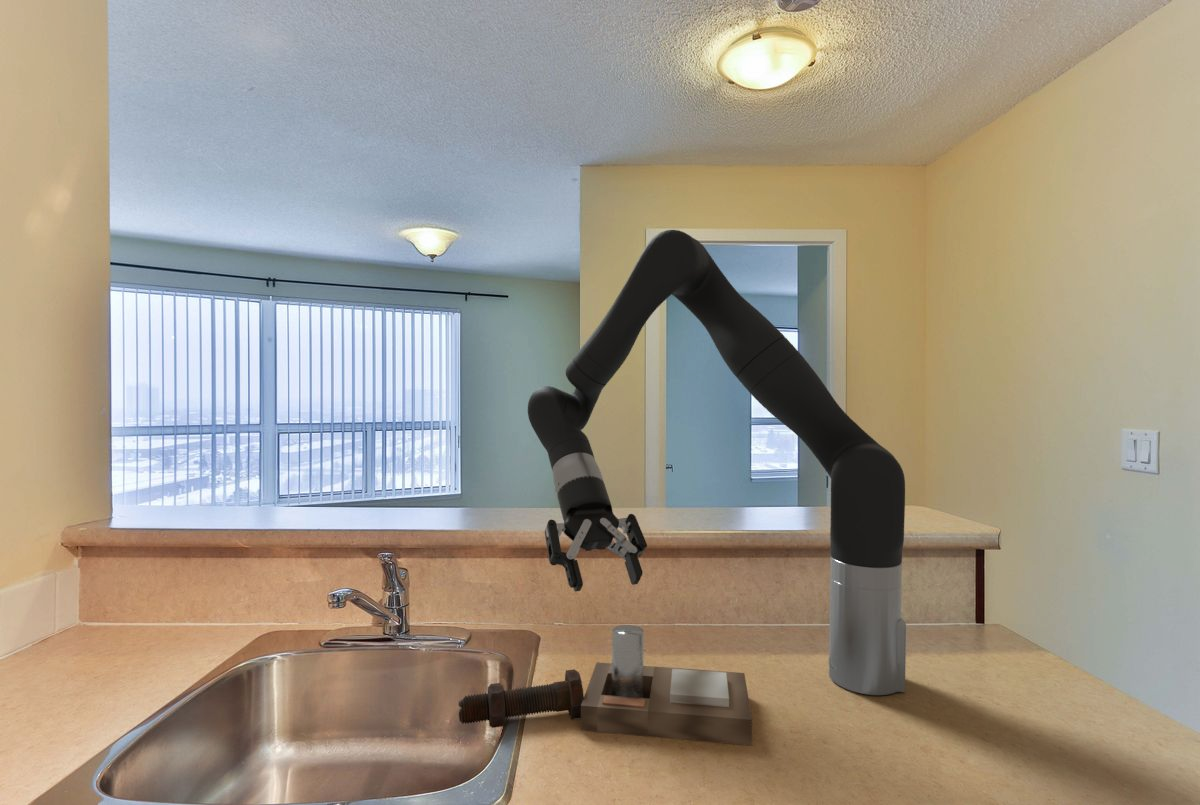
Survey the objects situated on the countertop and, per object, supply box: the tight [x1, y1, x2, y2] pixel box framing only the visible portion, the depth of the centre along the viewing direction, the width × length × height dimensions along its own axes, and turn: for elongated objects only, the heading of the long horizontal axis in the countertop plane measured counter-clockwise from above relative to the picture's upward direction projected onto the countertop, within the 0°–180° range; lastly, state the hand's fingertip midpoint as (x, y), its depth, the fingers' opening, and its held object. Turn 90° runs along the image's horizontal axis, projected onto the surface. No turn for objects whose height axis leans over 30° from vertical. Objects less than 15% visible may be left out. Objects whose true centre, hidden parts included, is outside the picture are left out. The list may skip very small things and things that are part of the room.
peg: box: [611, 624, 645, 698], centre depth 80 cm, size 4×4×10 cm
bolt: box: [458, 668, 585, 729], centre depth 77 cm, size 6×5×15 cm
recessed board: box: [580, 661, 753, 747], centre depth 79 cm, size 20×12×4 cm, turn 81°
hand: (608, 585), depth 86 cm, fingers open, 8 cm apart
